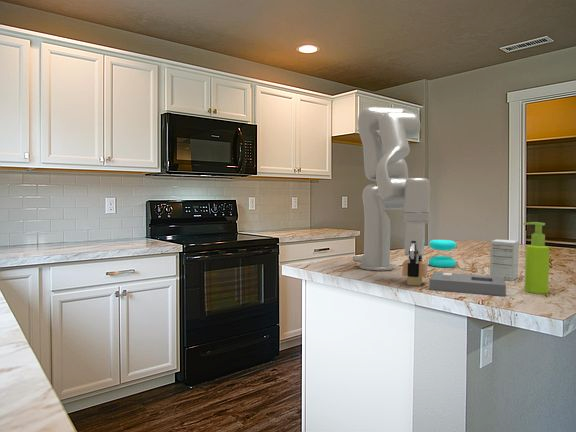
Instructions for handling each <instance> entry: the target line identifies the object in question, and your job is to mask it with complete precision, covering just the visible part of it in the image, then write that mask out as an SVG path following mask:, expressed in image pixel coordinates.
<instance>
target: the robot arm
mask: <svg viewBox="0 0 576 432" xmlns="http://www.w3.org/2000/svg"><path fill="white" fill-rule="evenodd" d="M357 129H358V134H359V137H360V140H361V144H362V149H363V152H362V153H363V163H364V164H363V167H364V175H365V177H366V179H368V180H370V181H372V182H373V181H375V182H376V183H369V184H368V185H366V186H365V187H364V188H363V190H362V195H361V196H362V203H363V215H364V217H363V218H364V228H363V229H364V230H363V233H364V234H363V235H364V236H363V255H361V256H356V255H354V256H352V262H360V264H359V268H360V269H363V270H368V271H378V272H379V271H380V272H381V271H393V270H394V267H395V266H394V265H393V264H391V263H390V260H391V259H390V258H391V219H390V217H389V216H388V214H387V212H386V211H385V210H403V223H405V224H406V226H405V235H404V236H405V237H404V255H405V256H408V259H407V260H408V276H409V277H418V276H419V264H418V261H423V254H424V252H425V241H426V240H425V239H426V238H425V237H426V224H430V197H431V196H430V194H431V193H430V192H431V191H430V190H431V184H430V180H429V178H425V177H409V169H408V164H407V162H406V160H405V158H406V157H408V155H410V152H411V150H410V149H411V148H410V144H409V141H408V138H414V137H417V136H418V135H419V133H420V131H421V121H420V119H419V116H418V115H417V114H416V113H415V112H414V111H413V112H412V111H410V110H407V109H405V108H401V107H386V106H368V107H365V108H363V109H361V110H360V112H359V114H358V118H357ZM378 131H379V132H378Z"/></svg>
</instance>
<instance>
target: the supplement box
mask: <svg viewBox="0 0 576 432" xmlns="http://www.w3.org/2000/svg"><path fill="white" fill-rule="evenodd" d="M519 242H520V241H519V240H514V239H513V240H511V239H499V238H498V239H494V240H491V241H490V258H489V259H490V260H489V276H497V277H503V278H504V281H511V282H512V281H514V280H516V279H517V278H519V249H520V248H519V246H520V243H519Z"/></svg>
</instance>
